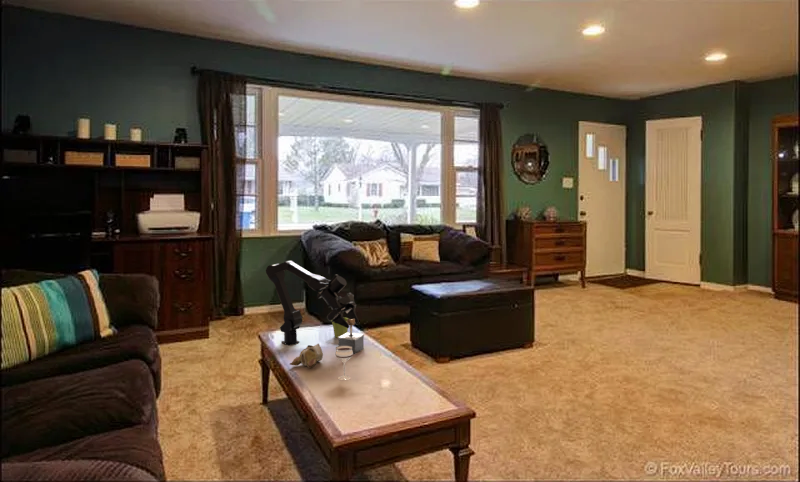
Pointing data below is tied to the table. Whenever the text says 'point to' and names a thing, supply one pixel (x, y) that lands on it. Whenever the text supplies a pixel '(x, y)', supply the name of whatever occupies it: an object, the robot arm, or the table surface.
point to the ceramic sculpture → (309, 356)
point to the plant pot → (339, 329)
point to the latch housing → (352, 341)
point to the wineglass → (344, 357)
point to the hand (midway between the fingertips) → (353, 325)
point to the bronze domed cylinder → (351, 322)
